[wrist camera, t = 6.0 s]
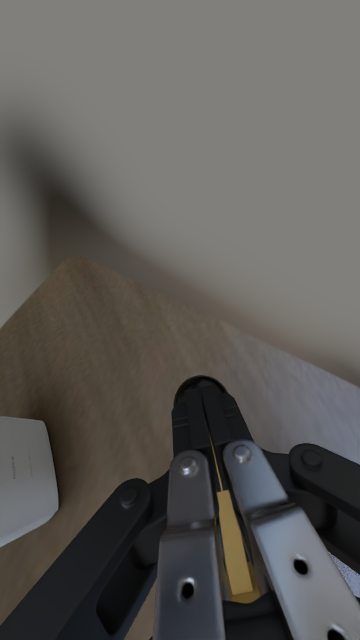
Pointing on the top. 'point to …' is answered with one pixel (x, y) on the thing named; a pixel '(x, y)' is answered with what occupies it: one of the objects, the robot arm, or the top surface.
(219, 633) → the robot arm
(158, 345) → the top surface
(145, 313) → the top surface
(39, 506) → the photo printer
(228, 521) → the lever
